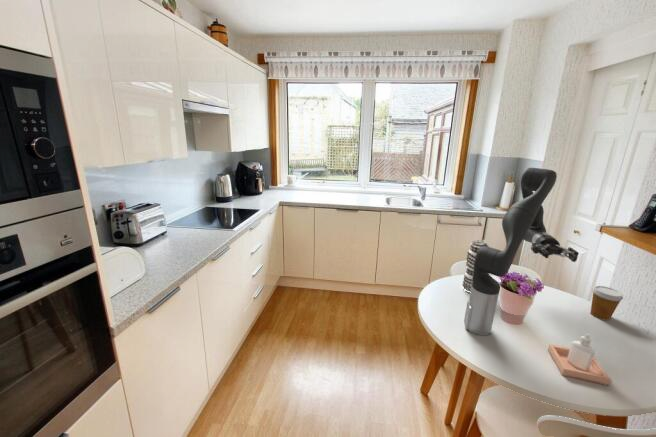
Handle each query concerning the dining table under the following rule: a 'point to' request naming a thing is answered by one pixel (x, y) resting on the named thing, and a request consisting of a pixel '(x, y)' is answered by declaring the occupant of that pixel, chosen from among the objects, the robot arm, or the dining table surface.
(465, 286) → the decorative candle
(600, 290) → the disposable coffee cup
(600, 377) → the terracotta caddy
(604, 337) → the dining table surface
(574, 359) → the eye dropper bottle
